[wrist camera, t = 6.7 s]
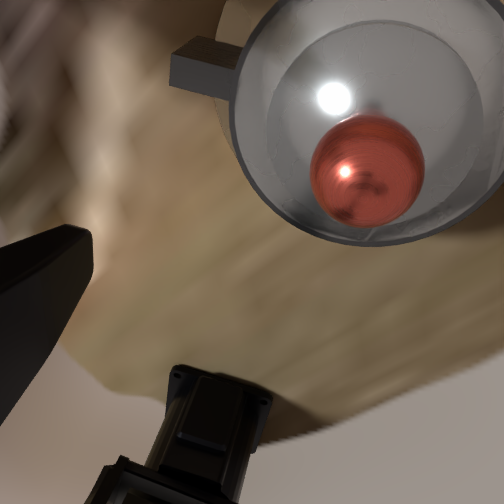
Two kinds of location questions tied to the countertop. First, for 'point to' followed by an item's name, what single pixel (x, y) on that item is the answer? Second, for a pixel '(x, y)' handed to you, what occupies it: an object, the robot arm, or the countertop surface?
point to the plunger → (374, 123)
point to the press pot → (291, 45)
